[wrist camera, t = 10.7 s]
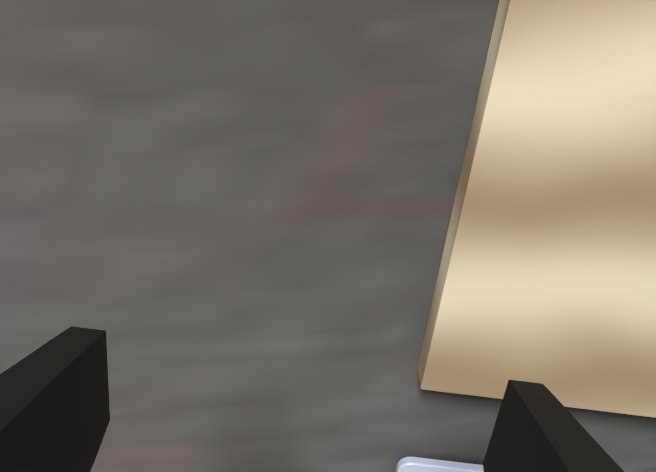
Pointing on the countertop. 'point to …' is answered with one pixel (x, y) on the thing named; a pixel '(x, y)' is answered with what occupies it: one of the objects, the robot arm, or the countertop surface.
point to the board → (555, 214)
